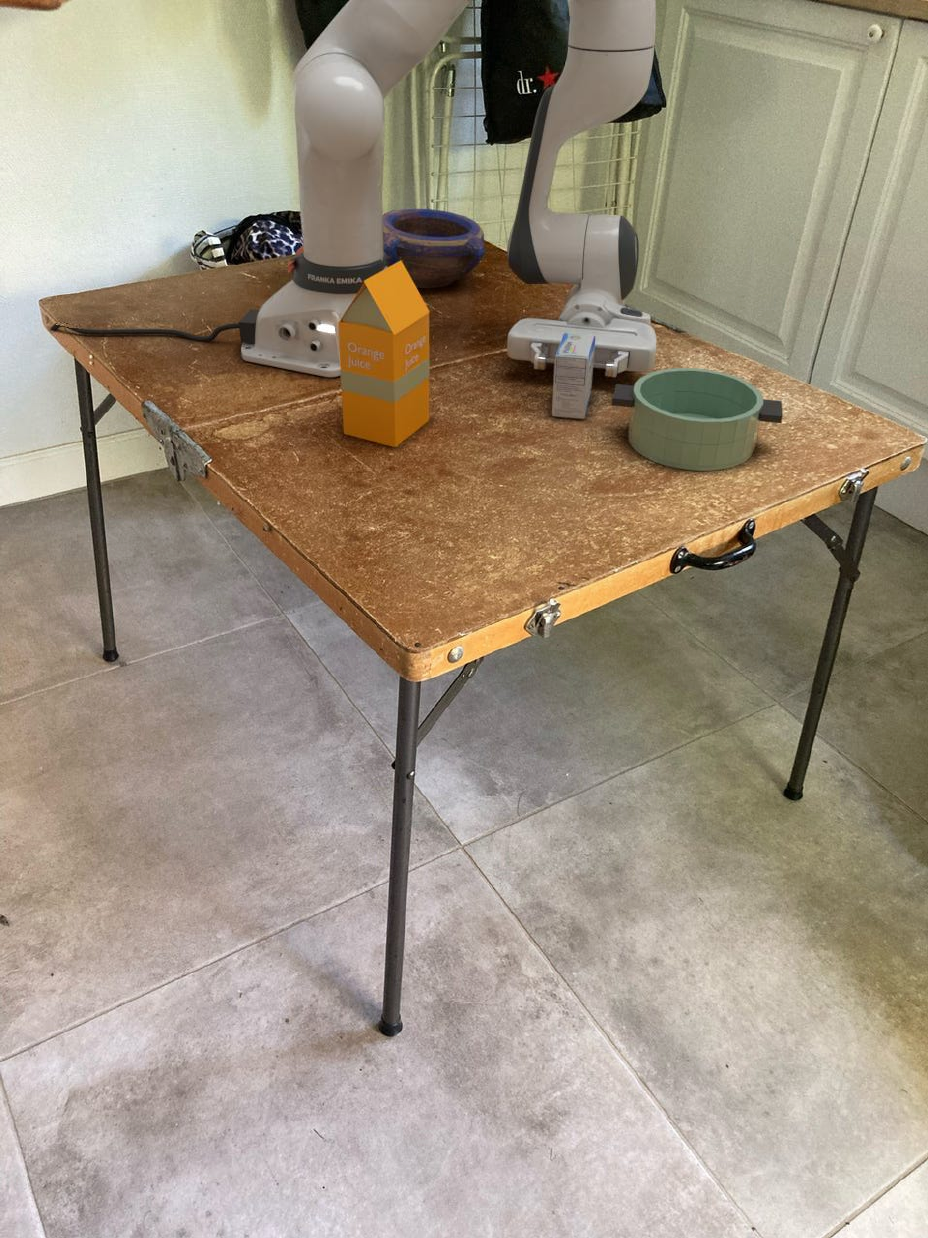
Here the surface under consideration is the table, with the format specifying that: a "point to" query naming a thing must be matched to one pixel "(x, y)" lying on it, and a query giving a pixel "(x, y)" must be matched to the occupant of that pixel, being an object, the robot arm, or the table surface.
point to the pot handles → (768, 414)
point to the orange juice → (385, 359)
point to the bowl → (432, 244)
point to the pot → (694, 419)
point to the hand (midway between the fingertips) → (575, 367)
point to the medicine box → (573, 375)
